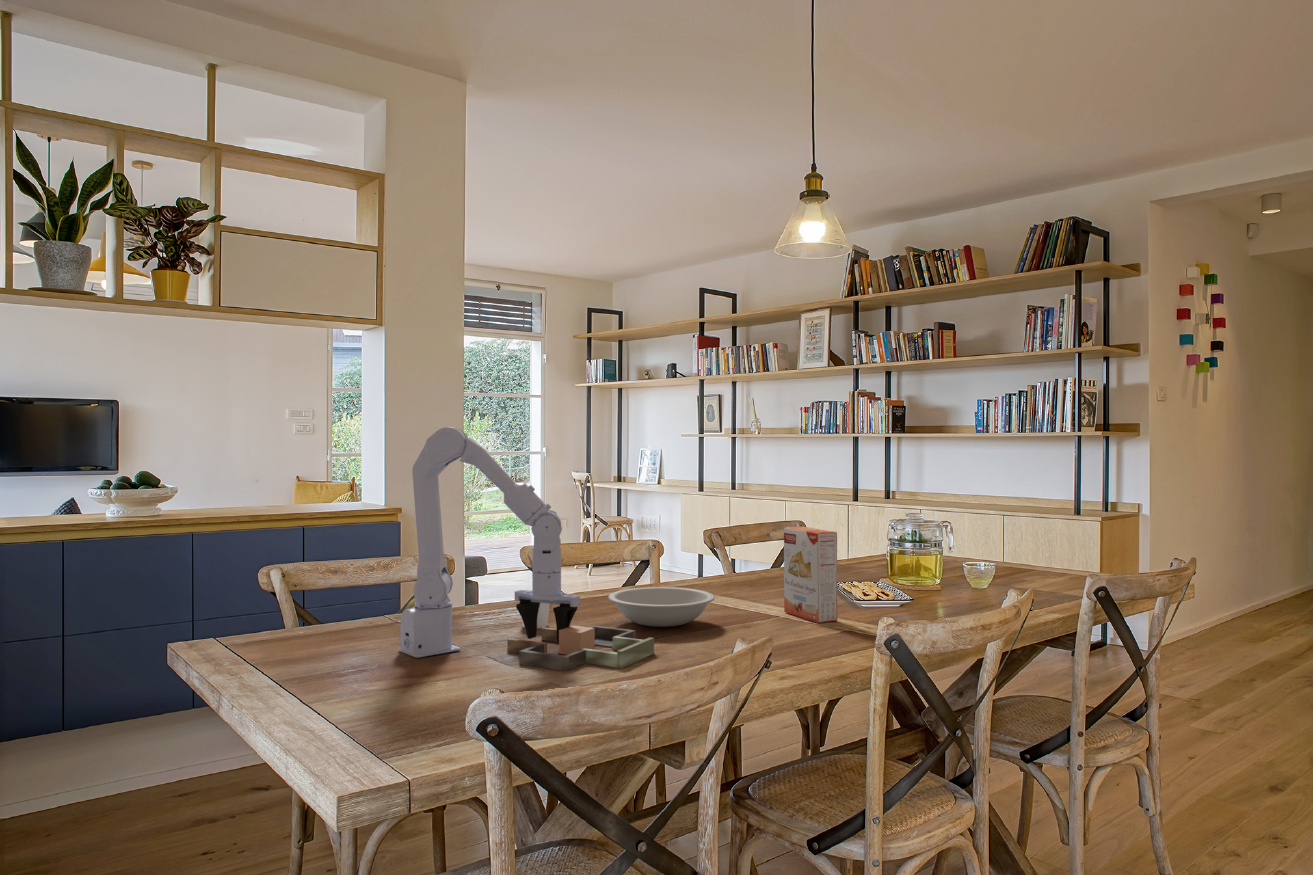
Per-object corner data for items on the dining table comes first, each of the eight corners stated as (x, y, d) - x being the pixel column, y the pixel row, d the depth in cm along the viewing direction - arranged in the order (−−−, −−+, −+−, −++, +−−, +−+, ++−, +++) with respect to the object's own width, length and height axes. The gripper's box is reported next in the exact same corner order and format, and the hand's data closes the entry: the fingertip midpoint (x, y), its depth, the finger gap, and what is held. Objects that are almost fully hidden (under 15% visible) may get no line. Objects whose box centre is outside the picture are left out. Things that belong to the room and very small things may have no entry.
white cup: (553, 622, 192) (553, 592, 192) (546, 629, 186) (546, 597, 186) (524, 622, 193) (524, 591, 193) (516, 628, 186) (516, 597, 186)
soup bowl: (717, 637, 178) (717, 605, 179) (604, 636, 179) (604, 605, 179) (712, 614, 202) (712, 586, 203) (612, 614, 203) (612, 586, 203)
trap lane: (486, 658, 160) (486, 642, 160) (562, 632, 182) (562, 618, 182) (603, 676, 148) (603, 659, 148) (669, 646, 170) (669, 631, 170)
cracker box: (782, 612, 205) (782, 526, 205) (803, 610, 207) (803, 525, 207) (816, 623, 192) (816, 531, 192) (838, 621, 195) (838, 530, 195)
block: (558, 653, 164) (559, 630, 164) (573, 647, 168) (573, 625, 169) (580, 656, 162) (580, 632, 162) (594, 650, 166) (594, 627, 166)
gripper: (588, 571, 169) (588, 639, 169) (529, 566, 176) (529, 631, 176) (568, 576, 163) (568, 646, 163) (508, 570, 169) (508, 638, 169)
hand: (546, 639), depth 169 cm, fingers open, 7 cm apart
